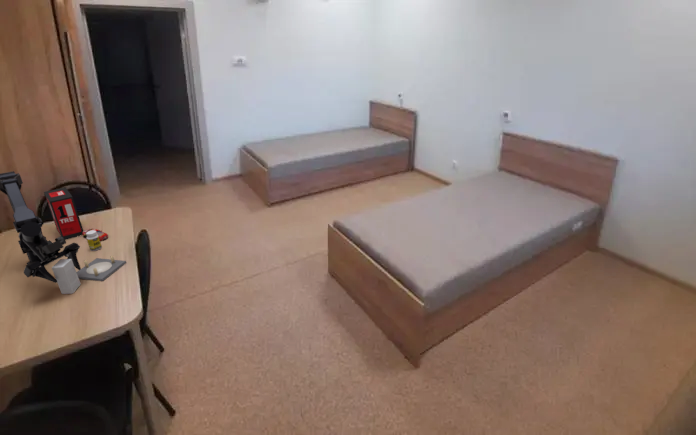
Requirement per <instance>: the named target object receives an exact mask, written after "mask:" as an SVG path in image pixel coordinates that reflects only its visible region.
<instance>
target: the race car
mask: <svg viewBox="0 0 696 435" xmlns="http://www.w3.org/2000/svg"><path fill="white" fill-rule="evenodd" d="M92 230H95V231H96V232H97V234H98V236H99V239H100V242H102V241H104V240H107V239H108V238H109V234H108V233H107V232H103V230H99V229H97V228H89V229H86V230H83V235H82V237H83V238H84V239H87V235H86V233H87V232H88V231H92Z"/></svg>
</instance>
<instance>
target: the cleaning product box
mask: <svg viewBox="0 0 696 435" xmlns="http://www.w3.org/2000/svg"><path fill="white" fill-rule="evenodd" d="M43 193H44V196H45V199H46V202H47V204H48V208H49V211H50V214H51V217H52V219H53V222H54V225H55V229H56V230H57V232H58V234H59V235H61V237H63V238H64V239H65V241H66V240H70V239H74V238H77V236H78V237H81V236H83V231H84V229H83V228H84V227H83V225H82V222H81V219H80V215H79V213H78V210H77V207H76V203H75V201H74V196H72V194H71V193H70V191H69V190H68V189H67V187H62V188H56V189H52V190H48V191H43ZM80 235H81V236H80Z"/></svg>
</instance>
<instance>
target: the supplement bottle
mask: <svg viewBox="0 0 696 435" xmlns="http://www.w3.org/2000/svg"><path fill="white" fill-rule="evenodd" d="M86 235H87V238H86V242H87V244H88V248H89V250H90V251H93V252H95V251H99V250H101V249H102V248H103V247H102V243H101V242H102V241H100V239H99V236H98V234H97V232H96V231H95V230H92V231H88V232H87V233H86Z"/></svg>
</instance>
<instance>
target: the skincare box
mask: <svg viewBox="0 0 696 435" xmlns="http://www.w3.org/2000/svg"><path fill="white" fill-rule="evenodd" d="M51 270H52V272H53V274H54V278H55V279H56V280H57V283H56V284H57V285H58V288H59V290H60V293H61V295H68V294H69V295H70V294H74V293H75V291H77V289H78V288H79V287H80V286H81V284H82V283H81V281H80V279H79V278H78V275H77V270H76V268H75V267H74V264H73V261H72V259H67V258H62V259H61V258H59V260H58V261H57V262H56V263H55V264H54V265H53V266H52V267H51Z"/></svg>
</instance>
